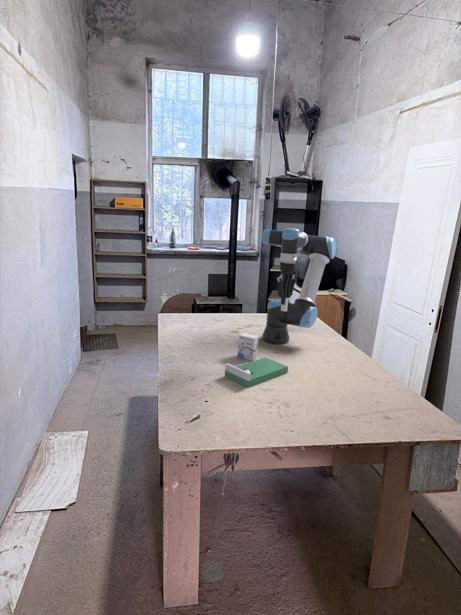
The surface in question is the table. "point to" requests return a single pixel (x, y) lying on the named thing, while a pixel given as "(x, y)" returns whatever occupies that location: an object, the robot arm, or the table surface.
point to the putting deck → (255, 371)
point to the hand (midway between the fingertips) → (283, 310)
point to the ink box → (247, 346)
